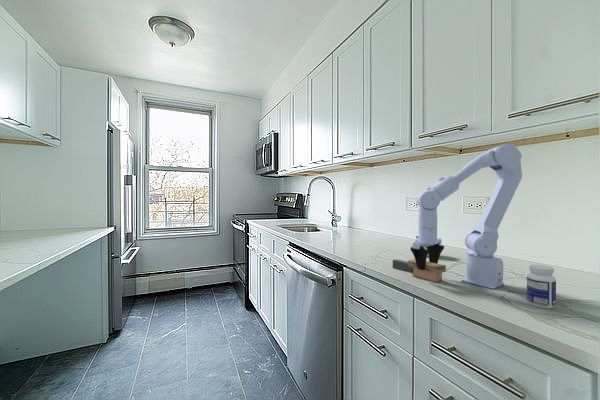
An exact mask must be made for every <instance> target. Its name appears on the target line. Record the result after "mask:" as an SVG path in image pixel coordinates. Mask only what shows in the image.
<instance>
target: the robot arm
mask: <svg viewBox="0 0 600 400" xmlns="http://www.w3.org/2000/svg"><path fill="white" fill-rule="evenodd" d="M522 157H523V154H522V153H521V152H520V150H519V149H518V147H517V146H516V145H515V144H513V143H503V144H500V145H498V146H496V147H492V148H490V149H487V150H486V151H485V152H483V153H481V154H479V155H478V156H476V157H474V158H473V159H472V160H471V161H469V162H468V163H467V164H466V165H464V167H462V168H461V169H460V170H458V171H457V172H456V173H455V174H453V175H452V176H451V175H450V176H449V175H446V176H441V177H440V178H438V181H437V182H436V183H435V184H433V185H432V186H428V187H427V188H426V190H427V191H424V192H422V193H420V194H419V195H418V196H417V197H418V198H417V199H416V201H417V205H418V233H417V234H418V239H416V238H415V239H414V240H415V242H413V241H412V242H413V247H412V246H410V251H411V253H412V255H413V257H414V259H415V260H416V264H417V268H418V269H420V270H425V266H426V261H427V258H428V262H432V263H436V264H439V260H440V256H441V254H442V253H443V250H444V249H445V246H444V245H442V243H443V242H442V238H439V237H438V207H439V205H440V202H443V201H444V200H445V199H447V198H449V197H450V196H451V195H453V194H454V193H455V192H457V191H458V190H459V188H460V184H461V183H462V182H464V181H465V180H467V179H468V178H469V177H472V176H473V175H474V174H475V173H477V172H478V171H480V170H481V169H484V168H488V167H489V168H490V169H491V170H493V171H494V172H495V174H496V176H497V177H498V181H497V183H496V185H495V187H494V190H493V192H492V194H491V196H490V198H489V201H488V203H487V205H486V206H485V209H484V211H483V213H482V215H481V217H480V220H479V222H478V223H477V224H476V225H474V227H473V228H472V230H471V231H470V232H469V233H468V234H467V235H466V237H465V238H464V244H465V247H466V248H467V251H466V277H463V278H462V279H461V282H465V283H469V284H472V285H473V284H474V285H477V286H481V287H485V288H489V289H492V290H493V289H496V288H498V287H500V286H502V285H504V284H505V283H504V261H503V259H502V258H499V257H496V256H494V255H495V253H496V252H497V249H498V239H499V227H500V226H501V222H502V221H503V219H504V216H505V214H506V213H507V210H508V208H509V205H510V204H511V202H512V200H513V198H514V195H515V193H516V191H517V189H518V187H519V185H520V183H521V180H522V178H523V170H522V163H521V161H522ZM424 247H427V250H425V249H424ZM428 254H429V257H427V255H428Z"/></svg>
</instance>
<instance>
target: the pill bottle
mask: <svg viewBox="0 0 600 400" xmlns="http://www.w3.org/2000/svg"><path fill="white" fill-rule="evenodd" d="M529 271H530V273H527V275H526V301H527V303H528V304H529V305H532V306H533V307H536V308H541V309H550V310H551V309H555V308H556V306H557V279H556V277H555V276H554V275H553V274H554V272H555V269H554V267H552V266H550V265H545V264H529Z"/></svg>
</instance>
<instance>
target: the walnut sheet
mask: <svg viewBox="0 0 600 400" xmlns="http://www.w3.org/2000/svg"><path fill="white" fill-rule="evenodd" d="M407 262H408V266H409V267H413V268H417V264H416V260H415V258H413V259H410V260H409V259H408V261H407ZM417 269H418V268H417ZM425 270H426V271H430V272H434V273H438V274H440V273H442V274H443V273H445V272H447V265H446V264H441V263H438V264H436V263H432V262H429V261H427V260H426V266H425Z"/></svg>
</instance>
